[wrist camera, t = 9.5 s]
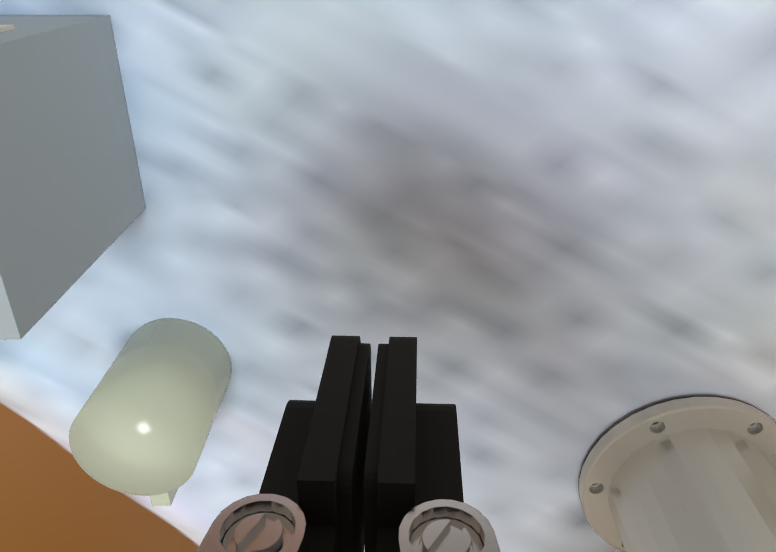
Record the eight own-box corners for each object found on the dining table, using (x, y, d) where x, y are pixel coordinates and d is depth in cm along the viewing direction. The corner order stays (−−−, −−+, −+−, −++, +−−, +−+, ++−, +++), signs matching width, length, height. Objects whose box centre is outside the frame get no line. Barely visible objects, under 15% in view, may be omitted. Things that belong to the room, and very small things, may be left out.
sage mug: (225, 318, 35) (187, 399, 29) (241, 434, 39) (210, 527, 33) (116, 317, 35) (55, 398, 29) (142, 433, 39) (93, 526, 33)
